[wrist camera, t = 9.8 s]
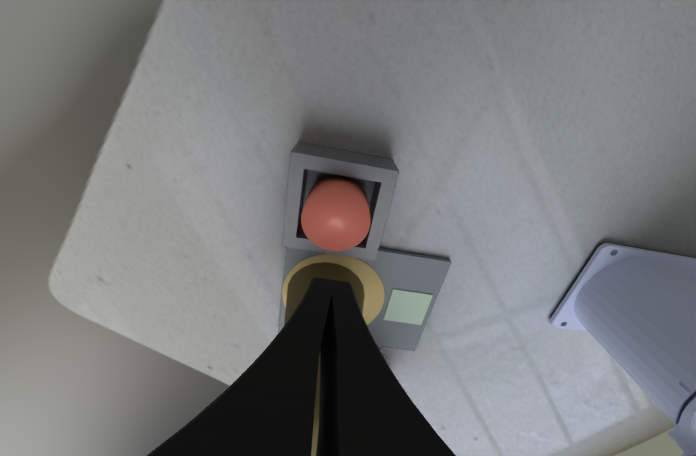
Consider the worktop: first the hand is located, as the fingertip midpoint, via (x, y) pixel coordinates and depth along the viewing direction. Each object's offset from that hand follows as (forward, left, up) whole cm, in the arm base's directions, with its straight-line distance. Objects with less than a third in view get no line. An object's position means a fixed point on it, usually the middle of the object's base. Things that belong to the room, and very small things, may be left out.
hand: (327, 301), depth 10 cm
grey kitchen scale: (-3, +8, -10) cm, 14 cm away
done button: (0, 0, -9) cm, 9 cm away
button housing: (0, 0, -10) cm, 10 cm away
